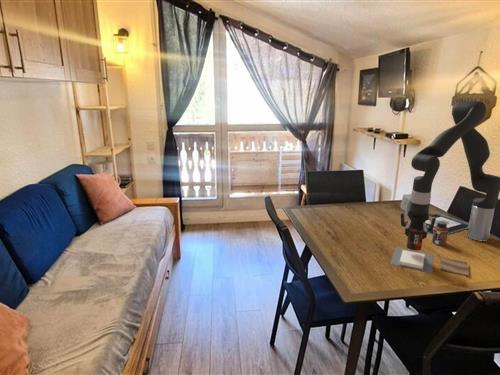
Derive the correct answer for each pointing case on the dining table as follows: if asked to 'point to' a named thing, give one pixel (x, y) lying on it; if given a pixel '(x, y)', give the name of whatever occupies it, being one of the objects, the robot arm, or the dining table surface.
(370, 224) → the dining table surface
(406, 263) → the tile
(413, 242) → the deodorant
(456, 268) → the rest board
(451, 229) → the dark picture frame
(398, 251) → the mat
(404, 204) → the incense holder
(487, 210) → the robot arm
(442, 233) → the supplement bottle
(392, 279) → the dining table surface
